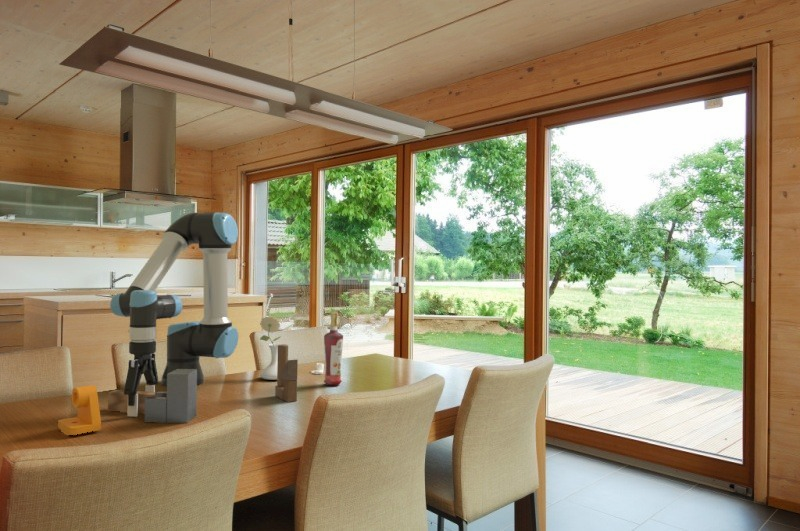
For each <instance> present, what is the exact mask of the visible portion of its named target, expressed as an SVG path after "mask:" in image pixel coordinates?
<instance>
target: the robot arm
mask: <svg viewBox="0 0 800 531" xmlns="http://www.w3.org/2000/svg"><path fill="white" fill-rule="evenodd" d="M238 229H239V228H238V225H237V222H236V220H235V219H234V217H233V216H232V215H231V214H229V213H226V212H189V213H186V214H184V215H183V216H180V217H179V218H178V219H176V220H175V221H174V222H172V223H171V225H169V226H168V227H167V229H166V230H165V231H164V233H163V234H162V236H161V242H160V243H159V245H157V247H156V249H155V250H154V251H153V253H152V255H151V256H150V257H149V258H148V260H147V262H145V264H144V265H143V267H142V268H141V269H140V271H139V272H138V274H137V276H136V277H135V278H134V279H133V281H132V282H131V284H130V285H129V286H128V288H127V289H126V290H125V292H123V293H122V292H121V293H117V294H115V295H113V297H111V300H110V304H109V305H110V310H111V312H112V313H113V314H114V315H115V316H118V317H125V318H129V329H128V331H127V332H128V333H129V340H130V342H128V345H129V346H128V348H129V349H128V353H129V354H130V355H133V356H134V357H133V359H131V360H128V369H127V374H126V379H125V383H124V384H125V385H124V395H128V407H127V412H126V413H127V417H135V418H136V417H137V418H138V414H139V413H138V394H136V393H137V391H138V390H139V386H140V382H141V379H142V376H143V377H144V379H145V382H146V384H145V389H144V390H145V391H144V392H156V388H155V387H156V385H158V384H159V376H158V371H157V364H156V354H155V353H156V352H157V341H156V339H157V320H161V319H163V320H164V319H171V318H175V317H178V316H179V315H180V314H181V313H182V311H183V301H182V299H181V298H180V297H179V296H178V295H175V294H157V291H156V290H157V288H158V287H159V285H160V284H161V283H162V281H163V279H164V278H165V276H166V275H167V274H168V272H169V271H170V269H171V268H172V266H173V264H175V262H176V260H177V259H178V257H179V256H180V254H181V253H182V252H185V251H186V250H187V249H188V247H189V246H192V245H195V244H197V245H198V250H199V251H200V252H201V253H202V260H203V261H202V262H203V263H202V264H203V266H202V268H203V269H202V270H203V287H202V288H203V318H202V319H201V320H200V321H198V320H197V321H196V320H195V321H186V322H178V323H173V324H169V326H168V328H167V332H166V364H165V367H164V370H163V373H162V376H161V385H162V386H165V387H167V374H168V373H170V372H172V371H174V370H176V369H197V386H198V385H200V384H203V383H204V382H205V376H204V372H203V368H202V366H201V363H200V358H201V357H202V358H203V357H204V358H205V357H206V358H215V359H219V358H220V359H221V358H222V359H225V358H226V359H227V358H228V357H230V356H232V355H233V353H234V352H235V350H236V348H237V346H238V343H239V332H238V329H237V328H236V327H234V326H233V321H232V319H231V318H229V316H228V315H229V314H228V312H229V311H228V309H229V307H228V301H229V299H228V297H229V296H228V293H229V292H228V290H229V289H228V288H229V286H228V253H229V252H230V251H231V250H232V249H233V248H232V245H234V244H236V242H237V241H238V238H239V237H238V236H239V230H238Z"/></svg>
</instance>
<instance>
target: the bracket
mask: <svg viewBox="0 0 800 531" xmlns="http://www.w3.org/2000/svg"><path fill="white" fill-rule="evenodd" d="M71 403H72V406H73V407H74V409H78V411H77V415H76V416H74V417H70V418H69V417H67V418H62V419H59V420H57V423H58V424H57V427H58V429H59V430H62V431H63V432H65V433H67V434H70V435H73V436H77V434H78V435H82V433H83V434H87V432H88V433H92V431H93V432H97V431H101V430H102V419H101V410H100V404H99V397H98V390H97V387H96V386H95V385H94V384H92V385H86V386H79V387H78V386H77V387H73V388H72V391H71Z"/></svg>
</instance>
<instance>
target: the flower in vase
mask: <svg viewBox="0 0 800 531" xmlns="http://www.w3.org/2000/svg"><path fill="white" fill-rule="evenodd" d="M259 326H261V328H262V330H263V331H265V332H267V333H268V336H267V335H262V336H261V337H260V339H259V340H262V341H265V342H267V341H269V340H270V341H271V343H269V344H268V347H269V349H270V353H271V361H270V363H269V364H268V365H267V366H266V367H265V368H264V369H263V370H262V371H261V372H260V373H259V378H262V379H264V380H269V381H277V364H278V345H281V344H282V343H274V342H276V341H277V340H279V339H280V338H281V336H282V335H280V336H278V337H275V338H274V339H273V340H272V339H271V337H270V333H271V334H273V333H276V332H278V331H279V330H280V329H281V323H280V321H279V320H278V319H277V318H275V317H274V316H270V315H269V316H265V317H262V318H261V320H260V324H259Z"/></svg>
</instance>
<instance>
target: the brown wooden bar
mask: <svg viewBox="0 0 800 531" xmlns="http://www.w3.org/2000/svg"><path fill="white" fill-rule="evenodd" d="M155 392H156V391H155ZM155 392H145V391H144V390H143V391H138V390H137V393H136V394H138V414H145V398H147V397H155ZM107 395H108V396H107V398H108V399H107V412H111V411H120V412H119V413H127V407H128V395H124V390H121V389H120V390H119V389H114V390H112V391H109V392H108V393H107Z"/></svg>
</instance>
